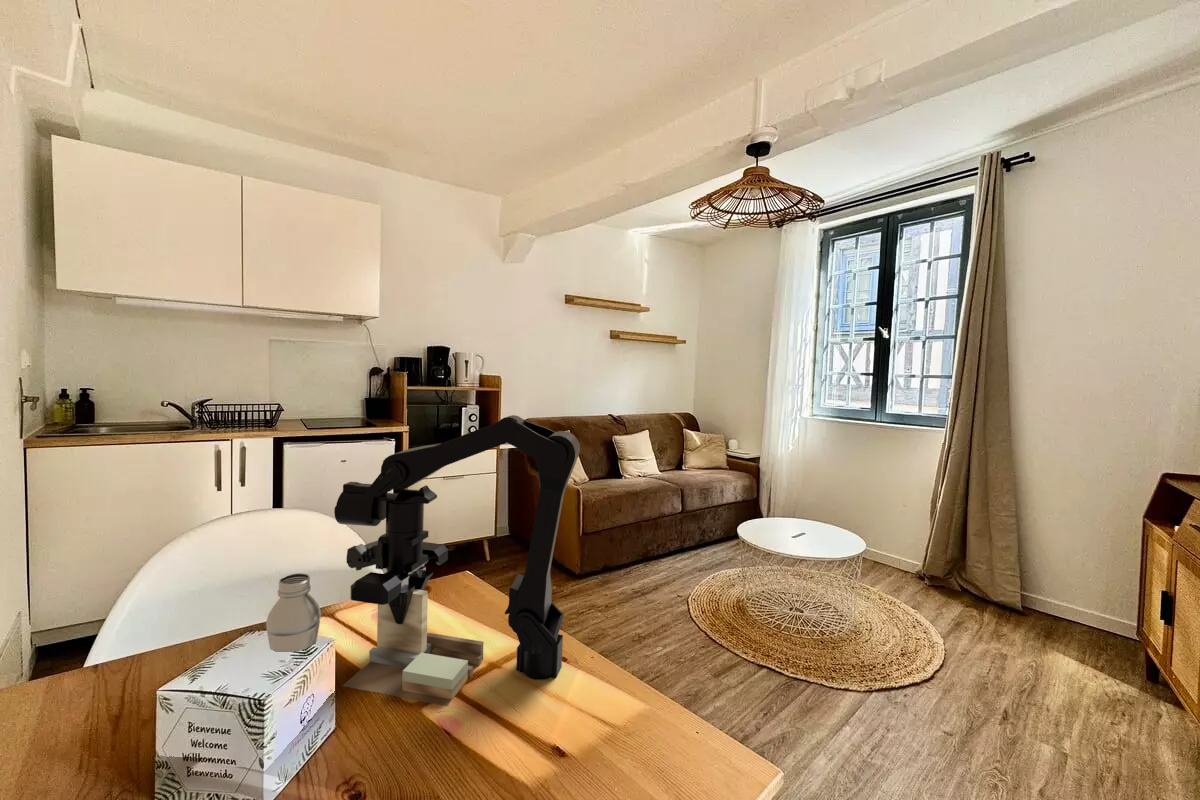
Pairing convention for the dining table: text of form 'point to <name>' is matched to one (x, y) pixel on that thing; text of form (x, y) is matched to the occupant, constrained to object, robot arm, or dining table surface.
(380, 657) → the walnut rack
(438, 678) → the sage offcut
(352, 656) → the dining table surface
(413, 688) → the oak offcut
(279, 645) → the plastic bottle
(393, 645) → the birch sheet
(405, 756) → the dining table surface
